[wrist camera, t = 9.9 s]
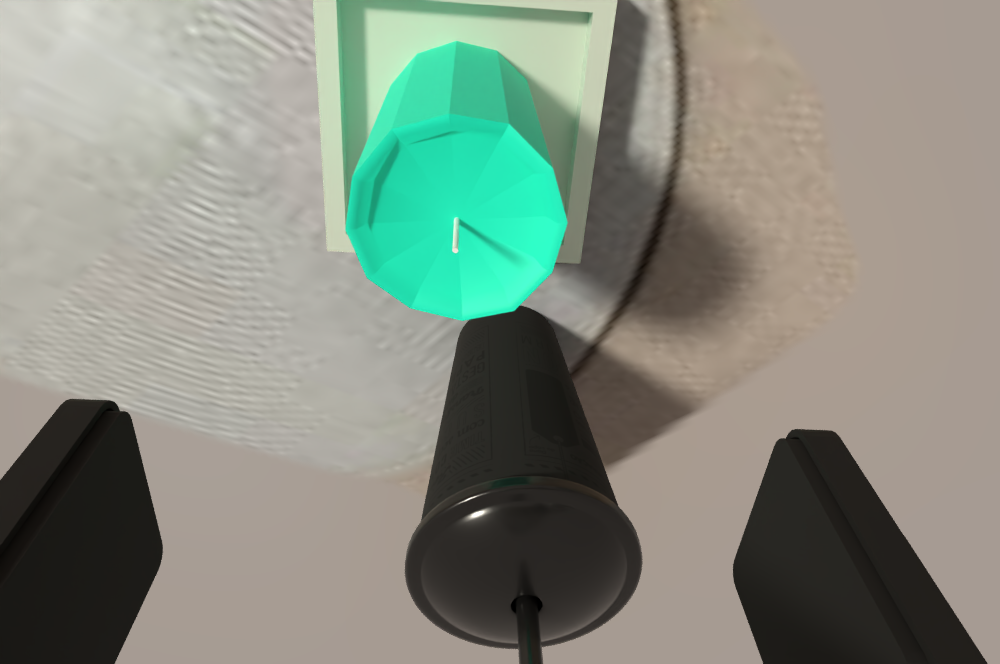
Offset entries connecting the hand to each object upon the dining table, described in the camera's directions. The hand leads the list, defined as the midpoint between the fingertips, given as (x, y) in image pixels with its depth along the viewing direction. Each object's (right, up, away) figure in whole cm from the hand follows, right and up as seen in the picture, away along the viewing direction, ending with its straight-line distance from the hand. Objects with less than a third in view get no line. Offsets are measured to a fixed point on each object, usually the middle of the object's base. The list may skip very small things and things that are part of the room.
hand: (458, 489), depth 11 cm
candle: (-1, +11, +18) cm, 21 cm away
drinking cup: (+1, +2, +24) cm, 24 cm away
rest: (-1, +11, +18) cm, 22 cm away
